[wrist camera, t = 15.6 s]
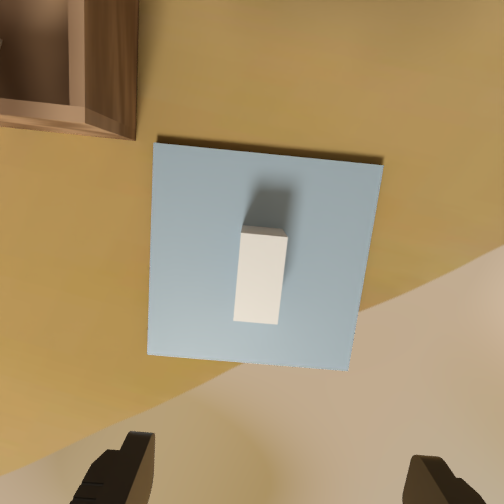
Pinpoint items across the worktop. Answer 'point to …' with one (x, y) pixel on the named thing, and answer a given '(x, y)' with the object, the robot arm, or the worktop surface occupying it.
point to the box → (69, 66)
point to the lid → (258, 255)
